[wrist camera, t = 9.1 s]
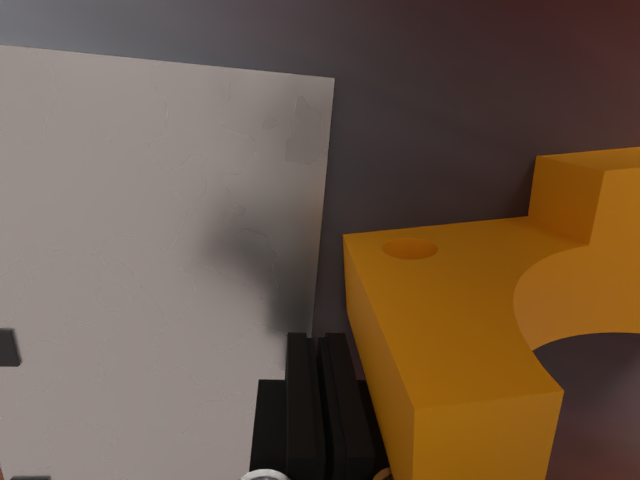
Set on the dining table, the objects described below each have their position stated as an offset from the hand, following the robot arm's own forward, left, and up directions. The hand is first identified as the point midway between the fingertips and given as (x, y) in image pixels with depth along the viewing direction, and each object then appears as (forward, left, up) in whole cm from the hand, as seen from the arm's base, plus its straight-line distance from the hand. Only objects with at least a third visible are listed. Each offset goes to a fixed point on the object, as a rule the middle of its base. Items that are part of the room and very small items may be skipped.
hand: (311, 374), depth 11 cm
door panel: (0, -5, -1) cm, 5 cm away
